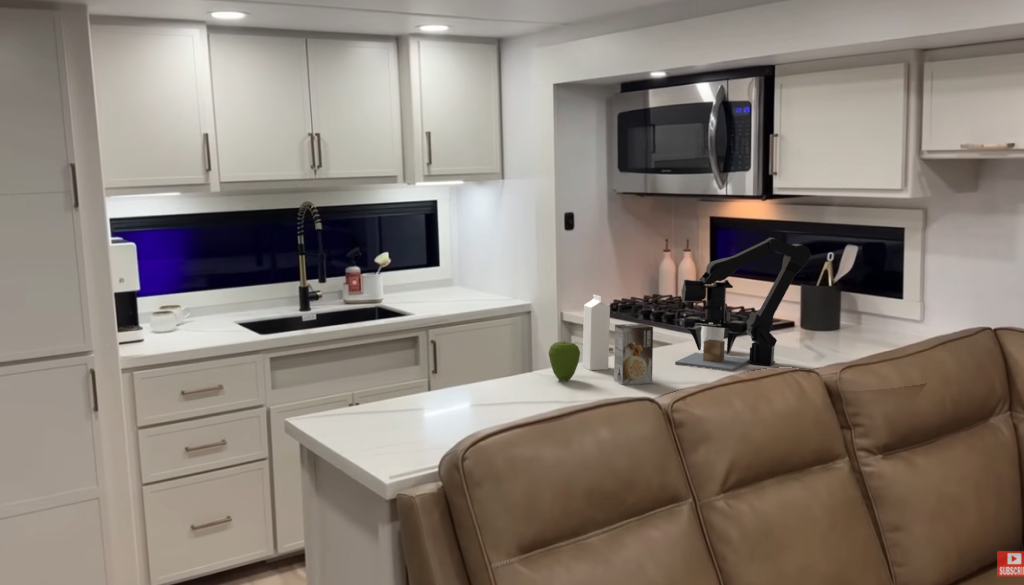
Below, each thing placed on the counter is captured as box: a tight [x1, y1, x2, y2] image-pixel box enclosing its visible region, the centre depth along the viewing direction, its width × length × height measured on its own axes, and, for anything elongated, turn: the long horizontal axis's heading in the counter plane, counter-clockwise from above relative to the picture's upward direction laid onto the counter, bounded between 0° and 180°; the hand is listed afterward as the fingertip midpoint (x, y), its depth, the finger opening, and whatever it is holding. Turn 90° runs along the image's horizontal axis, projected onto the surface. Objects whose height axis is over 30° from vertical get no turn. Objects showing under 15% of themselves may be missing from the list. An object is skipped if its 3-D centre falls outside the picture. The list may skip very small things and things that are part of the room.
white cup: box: [700, 323, 726, 352], centre depth 291 cm, size 8×8×10 cm
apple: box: [548, 339, 581, 382], centre depth 245 cm, size 9×8×12 cm
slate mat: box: [675, 352, 750, 372], centre depth 272 cm, size 18×18×1 cm
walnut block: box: [702, 339, 726, 363], centre depth 272 cm, size 5×5×6 cm
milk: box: [582, 294, 611, 371], centre depth 261 cm, size 6×6×22 cm
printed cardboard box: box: [613, 323, 654, 386], centre depth 244 cm, size 9×6×16 cm
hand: (713, 351), depth 272 cm, fingers open, 9 cm apart
